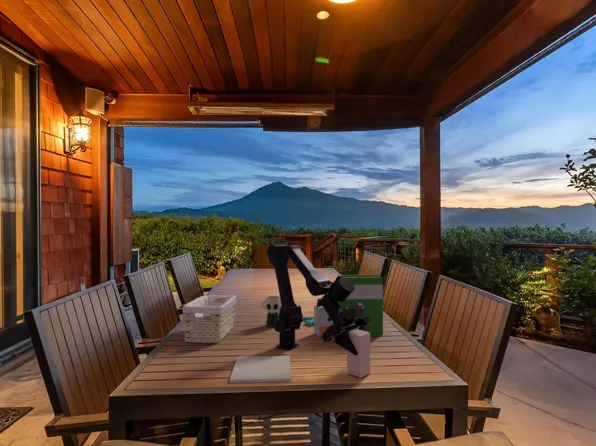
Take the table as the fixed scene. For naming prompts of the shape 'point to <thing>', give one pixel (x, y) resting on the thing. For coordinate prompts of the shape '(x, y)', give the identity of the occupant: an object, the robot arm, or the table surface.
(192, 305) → the storage basket
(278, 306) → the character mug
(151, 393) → the table surface
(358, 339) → the rose card box
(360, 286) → the green cereal box
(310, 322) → the alien figure
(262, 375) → the white square plate
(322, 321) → the skincare box
